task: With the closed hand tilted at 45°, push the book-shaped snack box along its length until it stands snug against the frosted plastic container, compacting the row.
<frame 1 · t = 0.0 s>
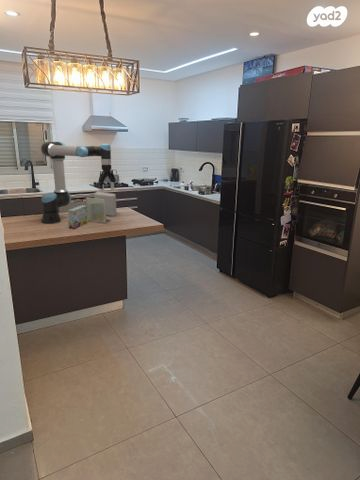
hand: (107, 191, 263), 28 cm above the table, tool pointing down, fingers open, 13 cm apart
frosted plastic container: (97, 221, 282), on the table
snack box: (78, 225, 269), on the table
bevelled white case: (106, 214, 306), on the table
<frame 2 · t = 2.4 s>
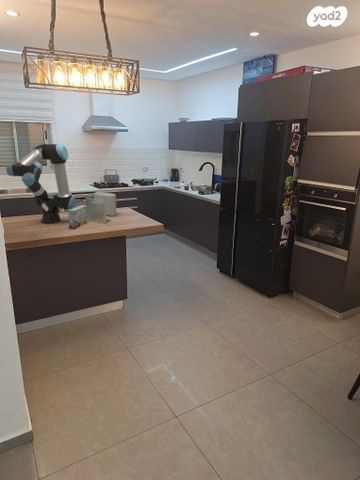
hand: (55, 210, 239), 18 cm above the table, tool tilted 40°, fingers open, 13 cm apart
nothing on the table moved.
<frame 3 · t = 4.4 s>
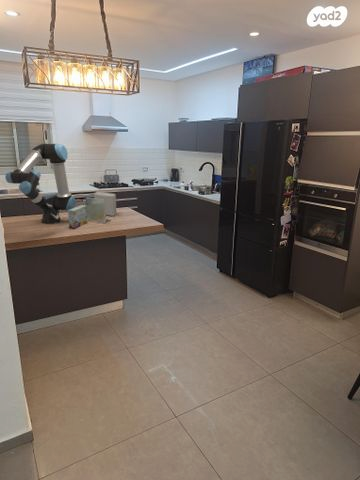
hand: (57, 217, 245), 12 cm above the table, tool tilted 45°, fingers closed
nothing on the table moved.
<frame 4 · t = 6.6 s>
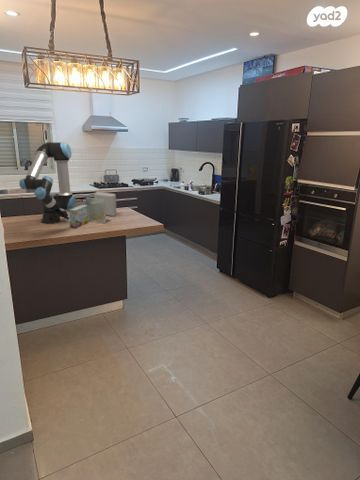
hand: (69, 221, 257), 6 cm above the table, tool tilted 45°, fingers closed
snack box: (79, 225, 270), on the table, touching gripper
everything else where it was.
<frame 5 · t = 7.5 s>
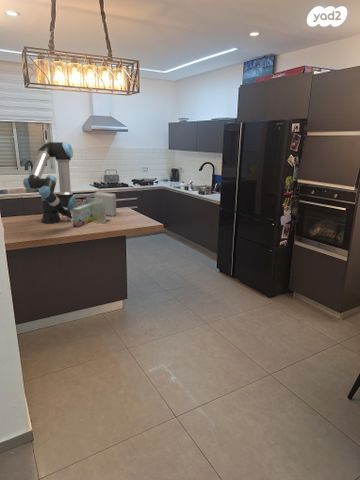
hand: (72, 220, 261), 6 cm above the table, tool tilted 45°, fingers closed
snack box: (82, 224, 273), on the table, touching frosted plastic container, gripper
everything else where it was.
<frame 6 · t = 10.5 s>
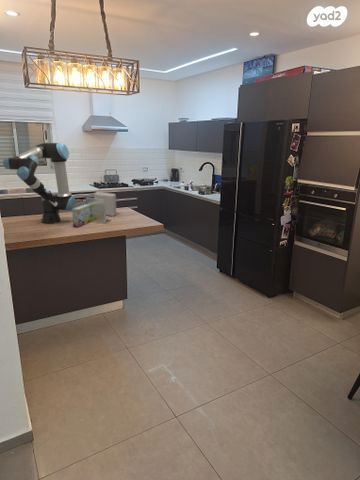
hand: (56, 204, 242), 21 cm above the table, tool tilted 45°, fingers closed
snack box: (82, 224, 273), on the table
everything else where it was.
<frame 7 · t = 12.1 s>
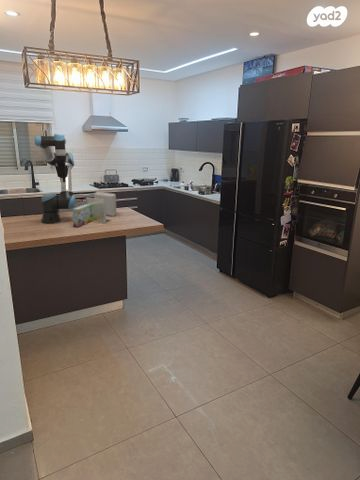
hand: (63, 186, 255), 32 cm above the table, tool pointing down, fingers closed
nothing on the table moved.
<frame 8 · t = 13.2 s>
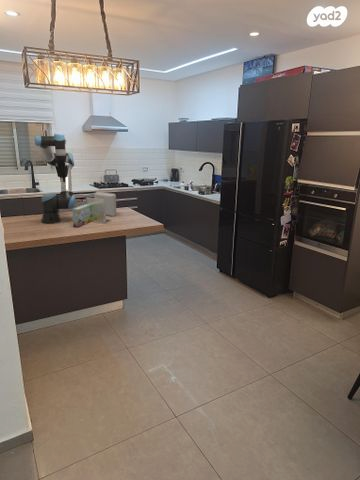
hand: (63, 186, 255), 32 cm above the table, tool pointing down, fingers closed
nothing on the table moved.
at the end: snack box 0.6 cm from the target spot, on the table; snack box tilted 0°; snack box moved 4.9 cm from its start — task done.
